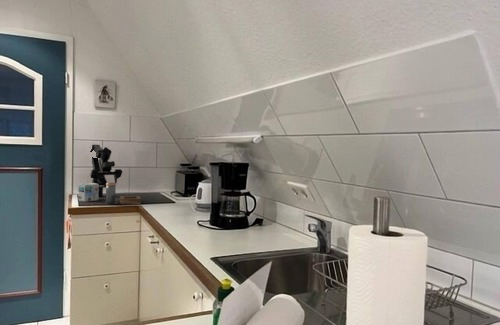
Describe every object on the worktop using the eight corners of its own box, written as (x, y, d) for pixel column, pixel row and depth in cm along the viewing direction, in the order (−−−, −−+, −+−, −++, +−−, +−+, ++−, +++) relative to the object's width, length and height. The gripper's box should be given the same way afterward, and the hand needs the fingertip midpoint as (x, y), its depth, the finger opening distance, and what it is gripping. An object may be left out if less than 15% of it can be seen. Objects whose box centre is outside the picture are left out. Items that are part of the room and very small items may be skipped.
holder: (119, 201, 250) (119, 196, 250) (138, 200, 254) (139, 195, 254) (120, 204, 239) (120, 199, 239) (140, 203, 243) (140, 198, 243)
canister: (105, 203, 240) (105, 182, 239) (115, 203, 242) (115, 182, 241) (105, 204, 235) (106, 183, 234) (115, 204, 237) (116, 183, 236)
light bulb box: (84, 201, 242) (84, 184, 242) (77, 200, 246) (78, 183, 245) (98, 199, 251) (99, 183, 251) (92, 198, 255) (92, 182, 254)
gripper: (91, 156, 241) (95, 176, 232) (121, 157, 251) (126, 175, 243) (88, 168, 248) (92, 187, 239) (118, 168, 258) (122, 186, 250)
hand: (108, 183), depth 242 cm, fingers open, 9 cm apart
